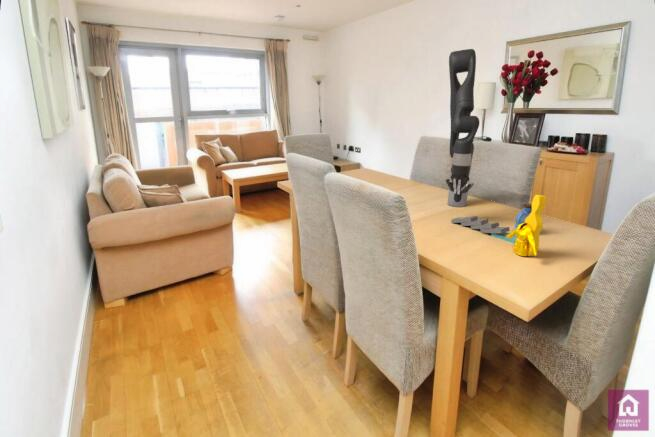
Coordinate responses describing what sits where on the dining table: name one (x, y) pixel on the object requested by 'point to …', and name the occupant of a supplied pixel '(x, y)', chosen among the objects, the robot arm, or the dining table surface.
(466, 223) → the tile
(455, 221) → the tile
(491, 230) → the tile
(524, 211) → the perfume bottle
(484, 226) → the tile
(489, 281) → the dining table surface
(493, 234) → the end tile
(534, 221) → the figure statuette
